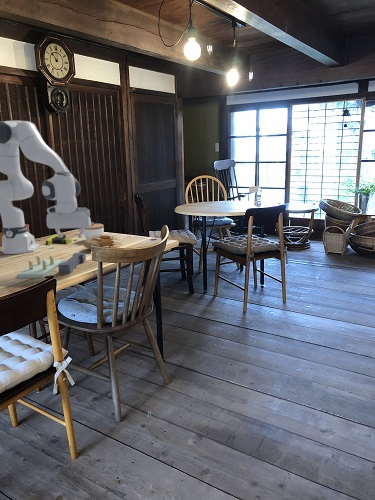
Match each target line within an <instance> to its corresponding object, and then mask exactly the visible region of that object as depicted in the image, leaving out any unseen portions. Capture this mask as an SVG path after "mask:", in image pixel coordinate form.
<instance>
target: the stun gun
mask: <svg viewBox="0 0 375 500" xmlns="http://www.w3.org/2000/svg"><path fill="white" fill-rule="evenodd" d="M72 242H73V241H72V238H67V235H66V234H63V237H62V238H59V237H58V234H57V233H56V234H53V235H51V236H50V237H48V238H47V239H46V240H45V244H46V245H48V246H51V245H53V244H60V245H62V244H63V245H69V244H71V243H72Z"/></svg>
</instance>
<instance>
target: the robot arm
mask: <svg viewBox="0 0 375 500" xmlns="http://www.w3.org/2000/svg"><path fill="white" fill-rule="evenodd" d="M19 147H20V149H19ZM20 150H21V151H22V153H23V156H24V157H26V158H27V159H28V160H29V161H32V162H35V163H39V164H44V165H46V166H49V167H50V168H51V169H52V170H53V171H54V172H55V173H54V175H53V176H52V177H51V178H49V179H46V180H44V181H43V182H42V184H41V187H40V188H41V194H42V196H43V197H44V198H45V199H46V200H48V201H56V204H55V205H53V206H50V207H47V208H46V212H47V214H46V227H47V228H48V229H54V230H55V232H56V235H58V237H59V238H62V237H63V232H61V231H60V230H61V229H79V233H77V238H83V231H84V228H89V227H90V226H91V224H92V220H91V217H90V216H91V210H90V209H89V208H87V207H78V201H77V200H78V199H77V198H78V196H79V195H80V192H81V185H80V182H79V181H78V180H77V177H75V176H74V175H73V174H72V173H71V172H70V170H69V169H68V167H67V165H66V164H65V163H64V161H63V160H62V159H61V157H60V156H59V154H58V153H57V152H56V151H54V150H53V149H52V148H51V147H49V145H47V144H46V142H45V141H44V139H43V137H42V135H41V133H40V132H39V130H38V127H37V126H36V124H35V123H34V122H32V121H29V120H15V119H14V120H5V121H2V120H0V173H2V174H4V175H6V176H7V180H5V179H4V180H0V217H1V222H2V229H1V230H2V234H3V235H2V236H1V247H2V248H1V249H0V252H2V253H3V254H4V255H5V254H6V255H19V254H25V253H30V252H35V250H37V249H38V248H40V245H41V244H40V243H38V242H36V238H35V236H34V235H33V234H31V233H30V232H29V231H28V229H29V228H30V227H29V226H30V225H29V224H25V223H26V222H25V217H24V216H25V214H24V211H23V210H22V209H21V208H19V207H16V206H14V205H13V201H22V200H26V199H28V198H31V197H32V196H33V194H34V190H35V189H34V188H35V187H34V186H33V183H32V182H31V181H30V180H29V179H27V178H26V177H25V176H24V175H23V172H22V170H21V163H20Z"/></svg>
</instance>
